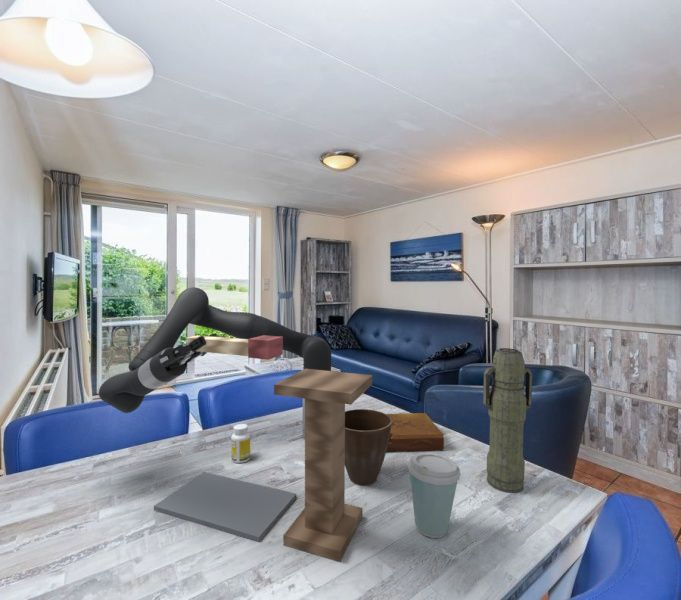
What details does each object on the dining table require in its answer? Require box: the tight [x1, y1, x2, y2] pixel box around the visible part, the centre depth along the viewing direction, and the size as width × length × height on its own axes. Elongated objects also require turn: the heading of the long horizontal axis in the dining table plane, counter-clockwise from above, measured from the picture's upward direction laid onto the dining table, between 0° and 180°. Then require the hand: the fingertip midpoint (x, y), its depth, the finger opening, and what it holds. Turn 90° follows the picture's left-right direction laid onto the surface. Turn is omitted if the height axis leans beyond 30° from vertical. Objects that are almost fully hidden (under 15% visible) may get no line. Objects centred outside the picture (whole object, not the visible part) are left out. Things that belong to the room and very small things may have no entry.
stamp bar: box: [185, 335, 284, 361], centre depth 82 cm, size 23×6×4 cm, turn 69°
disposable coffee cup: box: [407, 452, 461, 539], centre depth 76 cm, size 11×11×15 cm
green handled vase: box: [482, 347, 533, 494], centre depth 93 cm, size 9×12×35 cm
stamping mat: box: [153, 471, 297, 543], centre depth 85 cm, size 28×16×1 cm, turn 69°
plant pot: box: [345, 408, 392, 486], centre depth 96 cm, size 15×15×16 cm
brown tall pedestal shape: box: [273, 369, 373, 563], centre depth 75 cm, size 16×14×32 cm
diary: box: [386, 412, 445, 453], centre depth 120 cm, size 23×19×6 cm
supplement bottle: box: [230, 423, 251, 464], centre depth 106 cm, size 5×5×10 cm
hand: (210, 338), depth 85 cm, fingers closed on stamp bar, 3 cm apart
